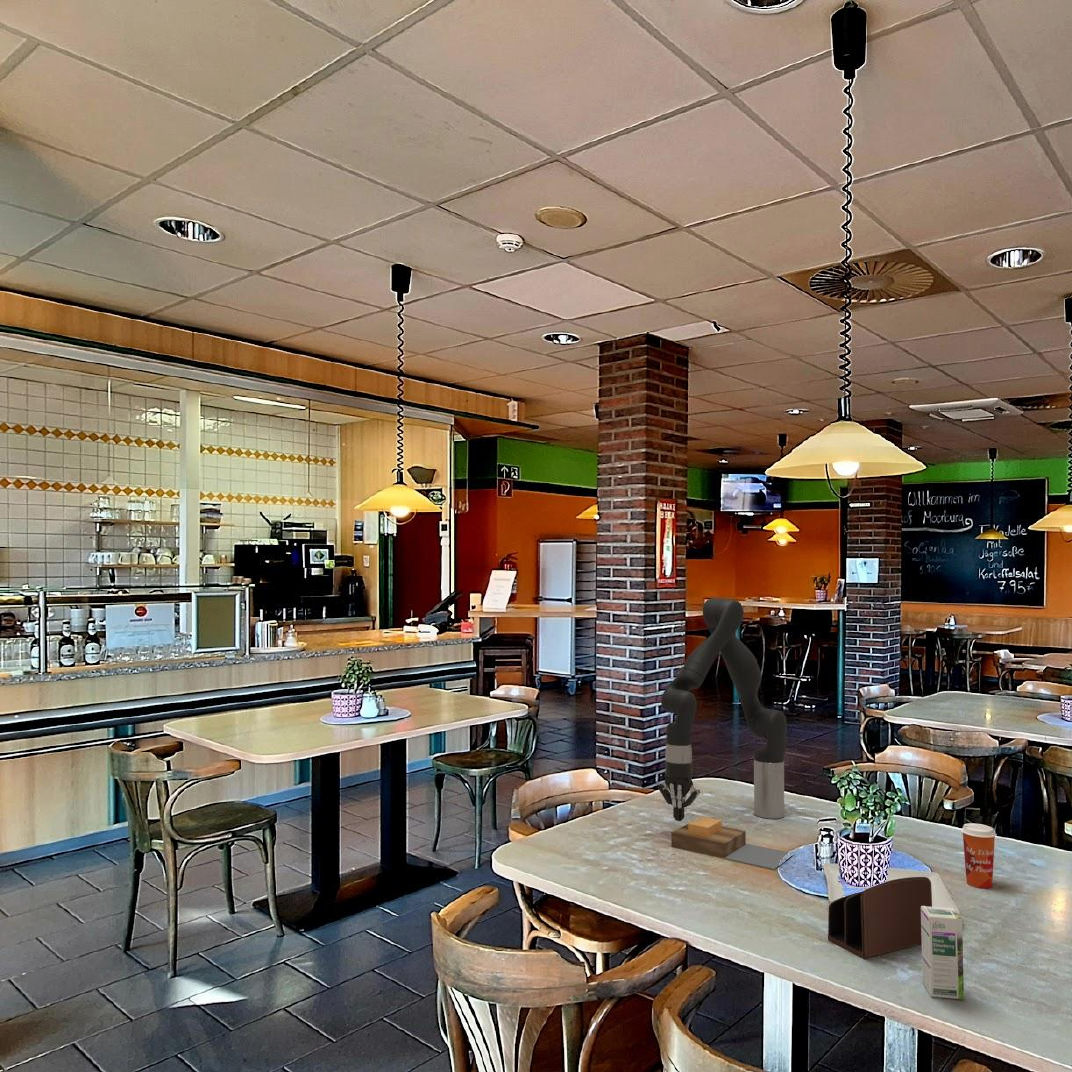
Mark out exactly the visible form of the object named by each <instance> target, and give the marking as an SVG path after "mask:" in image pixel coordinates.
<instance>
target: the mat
mask: <svg viewBox="0 0 1072 1072" xmlns="http://www.w3.org/2000/svg"><path fill="white" fill-rule="evenodd" d="M789 852H790V851H786V850H785V851H784V850H780V849H775V848H771V847H765V846H759V845H756V844H750V843H746V844H745V845H744V846H742V847H740V848H739V849H737V850H736V851H734V852H733V853H731V854H730V855H728V856H726V857H725V858H723V860H726V861H731V862H735V863H740V864H744V865H750V866H753V867H757V868H762V869H767V870H772V871H776V870H777V869H778V868H779V867H778V866H779V863H780V860H782V858H783V857H784V856H785V855H787V854H788V853H789ZM777 867H778V868H777ZM776 868H777V869H776Z"/></svg>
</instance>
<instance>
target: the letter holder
mask: <svg viewBox="0 0 1072 1072" xmlns="http://www.w3.org/2000/svg"><path fill="white" fill-rule="evenodd" d="M921 906H927V907H932V890H931V881H930V880H929V878H927V877H909V878H901V879H895V880H891V881H887V882H884V883H881V884H878V885H876V886H873V887H870V888H868V889H866V890H864V891H862V892H858V893H854V894H851V895H848V896H845V897H842V898H839V899H837V900H835V901H833V902H832V903H829V905H828V916H827V917H828V920H827V921H828V923H827V925H828V927H827V928H828V929H827V941H829V942H832V943H833V944H835V945H837V946H838V947H840V948H843V949H844V950H846V951H848V952H850V953H852V954H854V955H856V956H858V957H860V958H862V959H863V960H867V959H869V958H873V957H877V956H880V955H884V954H889V953H893V952H897V951H901V950H905V949H908V948H913V947H917V946H920V945H922V936H921Z"/></svg>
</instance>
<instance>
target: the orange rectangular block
mask: <svg viewBox="0 0 1072 1072" xmlns="http://www.w3.org/2000/svg"><path fill="white" fill-rule="evenodd" d="M690 822H691V823H690ZM690 822H689V824H688V823H687V824H688V833H692V834H696V835H701V836H706V837H709V836H711V835H713V834H714V833H716V832H718V831H720V830H721V829H722V826H723V820H722V819H718V818H714V817H713V818H712V817H708V816H707V817H706V816H701V817H699V818H697V819H695V820H693V822H692V821H690Z"/></svg>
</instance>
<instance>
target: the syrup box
mask: <svg viewBox="0 0 1072 1072" xmlns="http://www.w3.org/2000/svg"><path fill="white" fill-rule="evenodd" d="M963 934H964V933H963V919H962V917H961V915H959V914H958V913H957V912H956V911H955V910H954V909H953V908H942V907H927V906H921V936H922V944H921V967H922V968H921V969H922V977H921V978H922V984H923V986H924V987H926V988H925V989H926V991H927V993H928V994H929V996H930V997H931V998H942V999H943V998H944V999H954V1000H955V999H956V1000H962V1001H963V1000H964V999H965V989H964V987H965V984H964V983H965V982H964V980H965V979H964V946H963V945H964V942H963V941H964V938H963Z"/></svg>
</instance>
